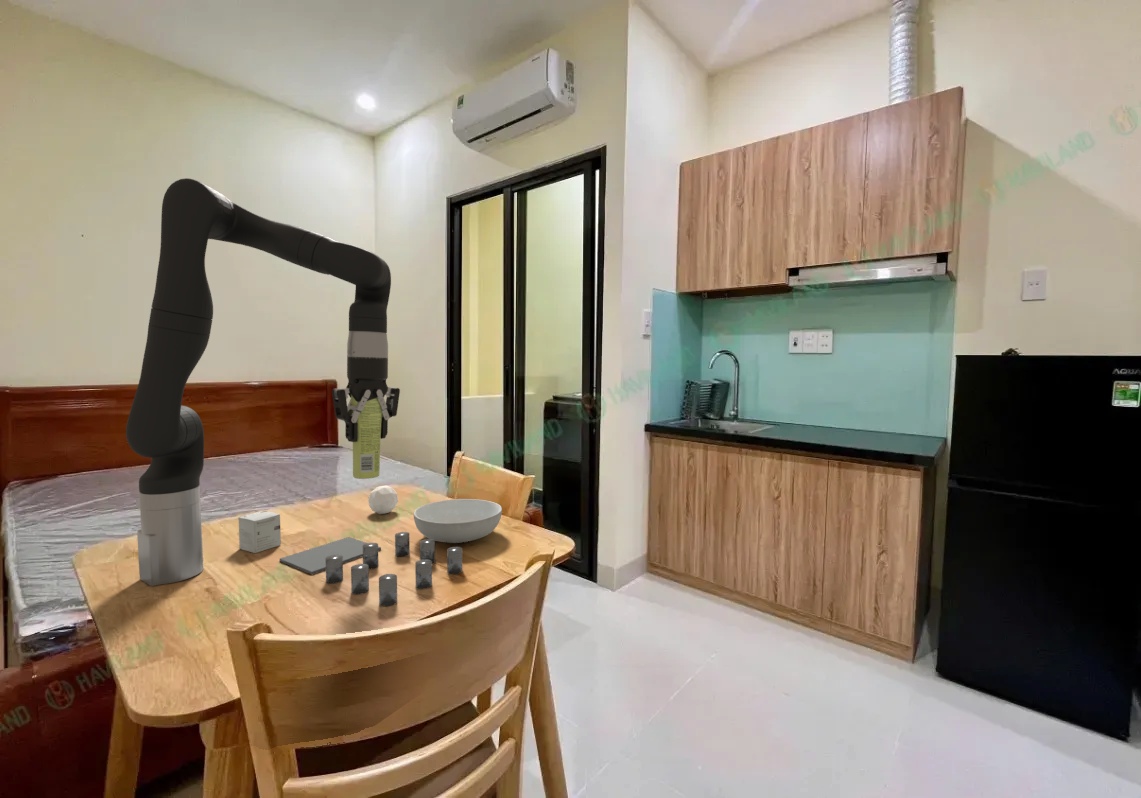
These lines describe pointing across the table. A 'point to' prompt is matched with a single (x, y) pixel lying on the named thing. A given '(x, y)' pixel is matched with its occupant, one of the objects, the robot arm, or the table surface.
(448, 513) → the serving bowl
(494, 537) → the table surface
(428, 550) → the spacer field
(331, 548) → the slate mat
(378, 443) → the tube
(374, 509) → the ball
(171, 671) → the table surface
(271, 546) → the skincare box
